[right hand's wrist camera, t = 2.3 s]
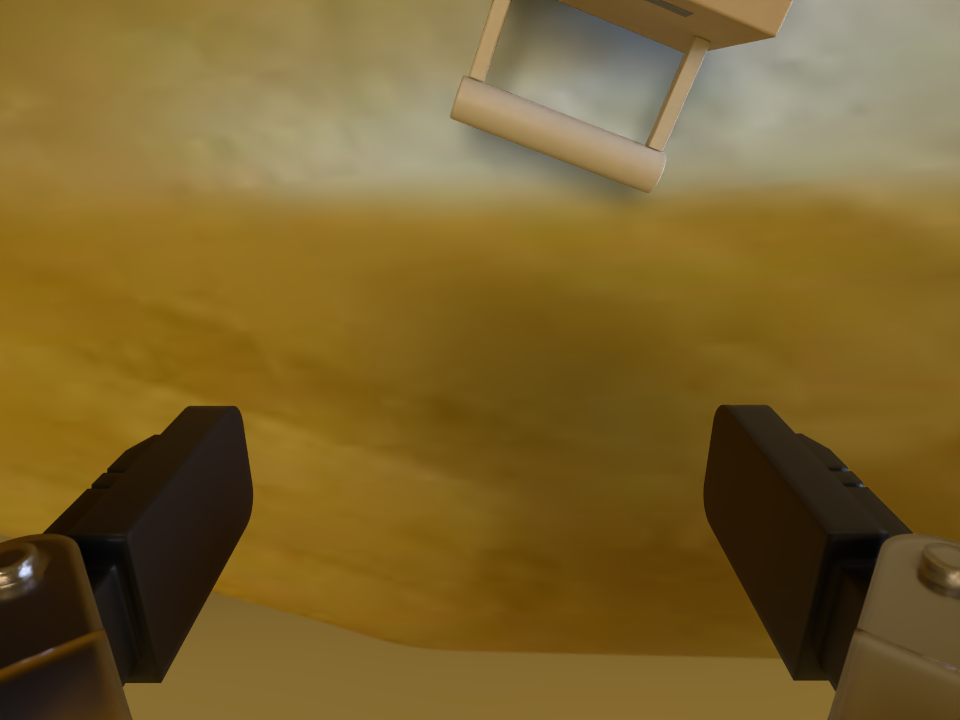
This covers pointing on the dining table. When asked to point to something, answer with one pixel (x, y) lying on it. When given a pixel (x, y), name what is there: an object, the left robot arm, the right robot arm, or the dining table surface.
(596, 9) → the drawer
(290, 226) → the dining table surface
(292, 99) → the dining table surface
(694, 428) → the dining table surface
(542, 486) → the dining table surface
